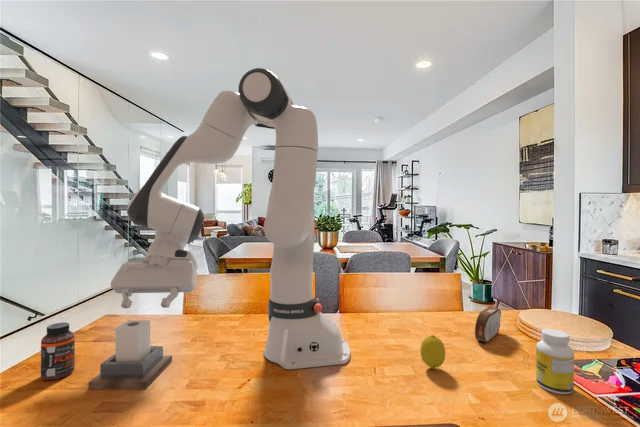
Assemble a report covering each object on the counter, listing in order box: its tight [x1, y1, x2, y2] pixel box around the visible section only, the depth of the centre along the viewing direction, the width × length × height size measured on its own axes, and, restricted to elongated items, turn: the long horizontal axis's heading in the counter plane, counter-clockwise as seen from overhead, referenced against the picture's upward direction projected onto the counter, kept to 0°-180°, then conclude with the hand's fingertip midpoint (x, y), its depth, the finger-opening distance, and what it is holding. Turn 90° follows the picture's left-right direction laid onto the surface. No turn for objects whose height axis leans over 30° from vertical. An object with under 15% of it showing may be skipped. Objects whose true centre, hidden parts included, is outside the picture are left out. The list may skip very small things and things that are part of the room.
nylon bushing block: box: [114, 319, 151, 362], centre depth 73 cm, size 5×5×10 cm
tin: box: [474, 305, 502, 343], centre depth 94 cm, size 15×3×8 cm, turn 135°
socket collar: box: [99, 345, 164, 378], centre depth 73 cm, size 9×9×3 cm
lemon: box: [420, 334, 446, 370], centre depth 76 cm, size 6×6×8 cm
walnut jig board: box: [87, 355, 173, 390], centre depth 73 cm, size 12×12×2 cm
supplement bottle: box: [40, 321, 76, 381], centre depth 73 cm, size 6×6×11 cm
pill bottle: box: [535, 328, 575, 395], centre depth 68 cm, size 6×6×12 cm
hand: (144, 306), depth 78 cm, fingers open, 8 cm apart
